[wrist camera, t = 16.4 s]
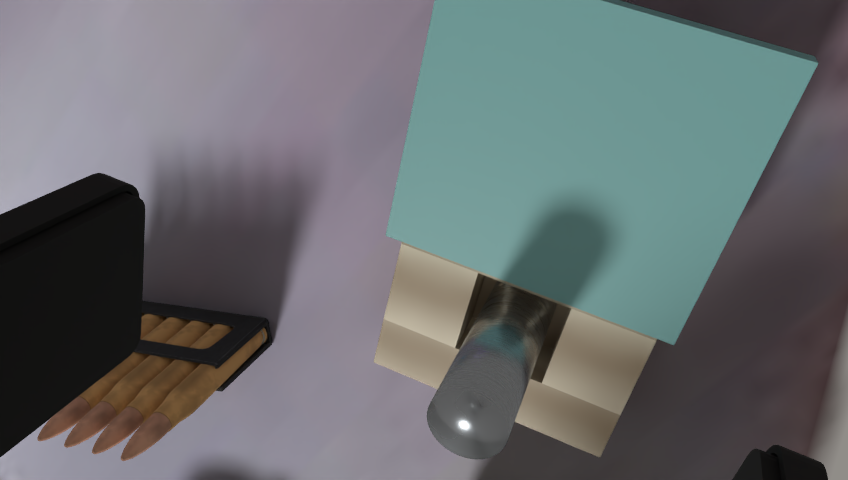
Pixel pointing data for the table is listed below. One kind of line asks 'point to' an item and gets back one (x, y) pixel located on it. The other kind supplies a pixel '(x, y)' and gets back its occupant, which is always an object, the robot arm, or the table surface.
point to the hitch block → (557, 362)
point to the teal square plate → (589, 149)
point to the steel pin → (490, 373)
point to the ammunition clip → (162, 377)
